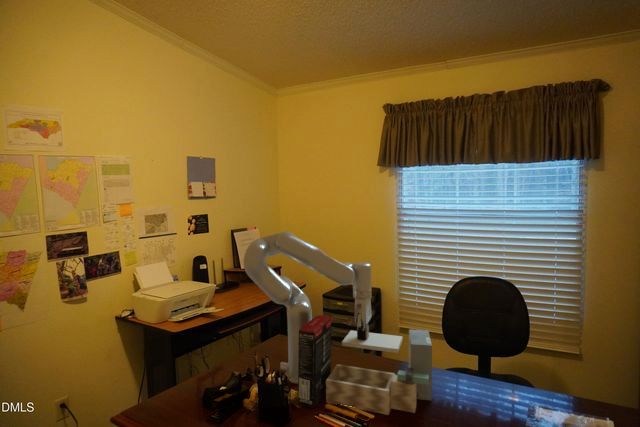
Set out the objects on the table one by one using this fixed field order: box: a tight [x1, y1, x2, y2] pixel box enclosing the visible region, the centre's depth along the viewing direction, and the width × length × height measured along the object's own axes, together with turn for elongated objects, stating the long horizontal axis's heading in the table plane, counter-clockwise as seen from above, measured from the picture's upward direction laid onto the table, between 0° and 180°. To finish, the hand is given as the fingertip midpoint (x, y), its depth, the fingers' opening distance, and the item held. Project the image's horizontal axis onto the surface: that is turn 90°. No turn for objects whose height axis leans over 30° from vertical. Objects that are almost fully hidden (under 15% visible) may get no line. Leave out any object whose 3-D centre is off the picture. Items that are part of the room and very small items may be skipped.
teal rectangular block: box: [396, 369, 429, 385], centre depth 123 cm, size 10×3×2 cm, turn 69°
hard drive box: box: [408, 329, 433, 401], centre depth 135 cm, size 16×8×20 cm, turn 168°
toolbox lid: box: [341, 324, 404, 354], centre depth 146 cm, size 22×13×6 cm, turn 69°
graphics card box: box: [297, 314, 332, 409], centre depth 132 cm, size 17×7×27 cm, turn 159°
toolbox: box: [325, 363, 417, 416], centre depth 128 cm, size 30×13×13 cm, turn 69°
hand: (362, 337), depth 148 cm, fingers closed on toolbox lid, 3 cm apart
